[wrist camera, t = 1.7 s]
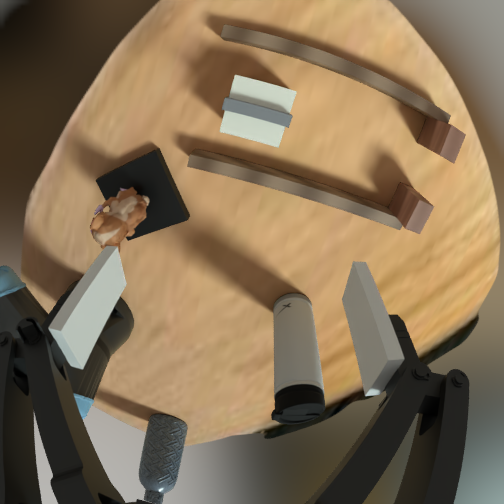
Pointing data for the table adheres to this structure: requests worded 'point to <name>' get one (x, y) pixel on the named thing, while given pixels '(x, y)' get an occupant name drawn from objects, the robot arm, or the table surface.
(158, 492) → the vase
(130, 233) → the figurine
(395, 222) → the guide
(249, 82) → the block
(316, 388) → the travel mug
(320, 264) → the table surface
